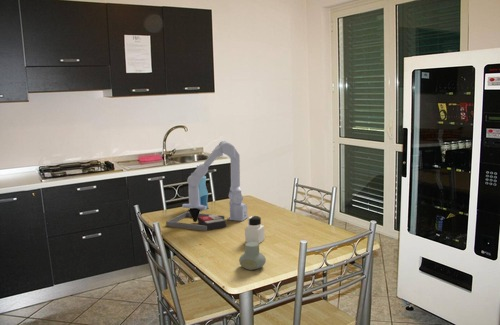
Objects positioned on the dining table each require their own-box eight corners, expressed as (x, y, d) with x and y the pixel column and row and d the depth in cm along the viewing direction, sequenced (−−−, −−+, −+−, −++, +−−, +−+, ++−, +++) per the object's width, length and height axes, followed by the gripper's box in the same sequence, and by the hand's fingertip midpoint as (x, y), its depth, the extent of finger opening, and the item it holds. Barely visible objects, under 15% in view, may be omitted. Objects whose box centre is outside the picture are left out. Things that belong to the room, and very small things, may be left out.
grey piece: (224, 220, 255) (224, 215, 255) (206, 231, 238) (206, 226, 237) (186, 215, 266) (186, 211, 265) (166, 226, 248) (166, 221, 248)
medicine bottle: (264, 239, 222) (264, 215, 220) (258, 244, 216) (258, 219, 214) (251, 237, 225) (250, 214, 223) (245, 242, 219) (244, 218, 217)
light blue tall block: (199, 206, 285) (197, 175, 281) (208, 208, 280) (207, 176, 277) (190, 209, 278) (188, 177, 275) (200, 211, 274) (198, 178, 270)
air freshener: (236, 269, 188) (235, 246, 186) (244, 261, 195) (243, 239, 194) (261, 272, 184) (261, 248, 182) (268, 264, 192) (267, 242, 190)
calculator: (216, 213, 256) (226, 219, 242) (216, 221, 257) (226, 227, 243) (197, 216, 252) (206, 222, 238) (198, 224, 252) (206, 230, 239)
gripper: (178, 198, 249) (180, 222, 251) (201, 200, 243) (203, 224, 245) (185, 195, 255) (187, 218, 257) (208, 197, 249) (209, 221, 251)
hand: (195, 221), depth 252 cm, fingers closed
